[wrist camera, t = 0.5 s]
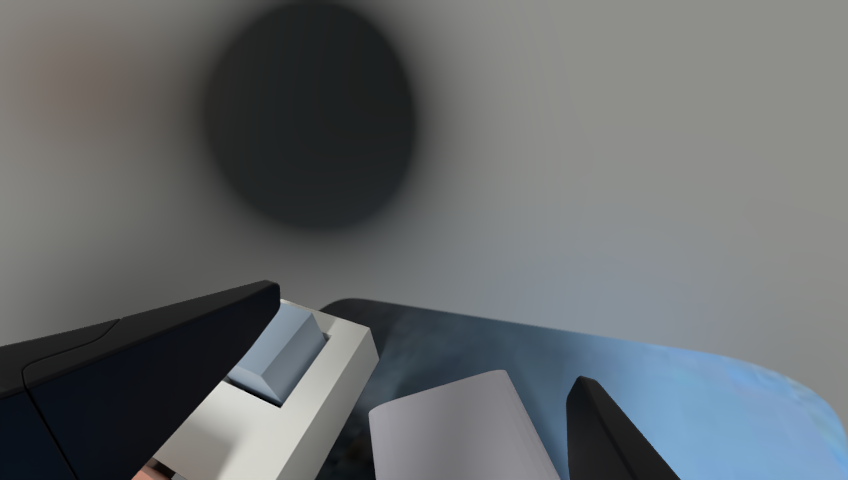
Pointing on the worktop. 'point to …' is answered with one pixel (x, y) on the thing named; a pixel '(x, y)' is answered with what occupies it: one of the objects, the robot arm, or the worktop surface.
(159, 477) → the brick key
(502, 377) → the charger
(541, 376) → the worktop surface
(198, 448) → the key console
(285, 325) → the slate key
